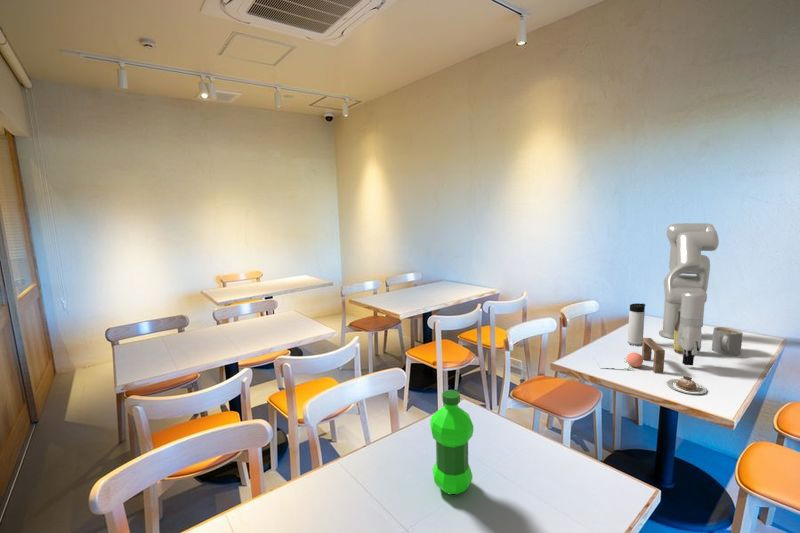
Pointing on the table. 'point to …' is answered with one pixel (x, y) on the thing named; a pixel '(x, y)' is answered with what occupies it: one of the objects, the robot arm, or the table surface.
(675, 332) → the sauce bottle
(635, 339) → the travel mug
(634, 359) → the ball
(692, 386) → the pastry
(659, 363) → the bridge
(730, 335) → the coffee mug
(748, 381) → the table surface
